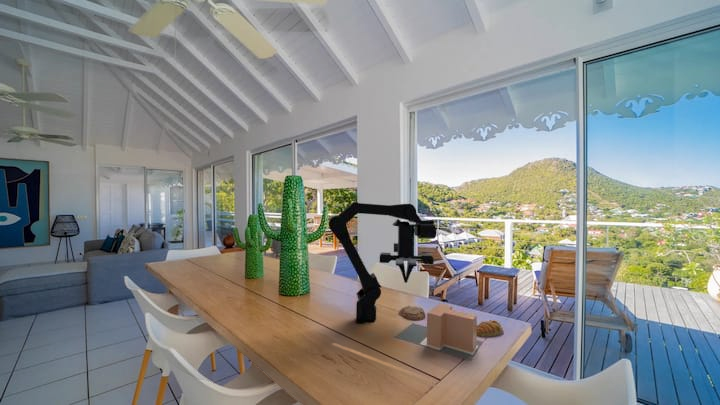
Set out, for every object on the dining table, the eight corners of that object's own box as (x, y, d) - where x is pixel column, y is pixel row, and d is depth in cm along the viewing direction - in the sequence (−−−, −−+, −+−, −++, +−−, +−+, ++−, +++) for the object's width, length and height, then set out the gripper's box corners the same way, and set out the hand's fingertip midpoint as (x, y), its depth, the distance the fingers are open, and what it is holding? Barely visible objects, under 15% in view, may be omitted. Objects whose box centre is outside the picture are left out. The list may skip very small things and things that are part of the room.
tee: (426, 344, 83) (427, 312, 84) (439, 332, 92) (439, 303, 92) (469, 357, 76) (470, 323, 77) (479, 343, 85) (479, 312, 85)
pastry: (484, 342, 87) (484, 329, 87) (467, 333, 93) (467, 321, 93) (505, 336, 91) (505, 323, 91) (487, 328, 97) (487, 316, 97)
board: (394, 338, 88) (394, 336, 88) (412, 324, 98) (412, 323, 98) (471, 363, 75) (471, 360, 75) (482, 343, 85) (483, 341, 85)
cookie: (408, 324, 99) (408, 315, 99) (394, 313, 109) (394, 305, 109) (433, 320, 103) (433, 312, 103) (416, 310, 113) (416, 302, 113)
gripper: (429, 236, 111) (429, 277, 111) (380, 235, 113) (380, 276, 113) (434, 240, 100) (433, 285, 100) (379, 239, 102) (379, 283, 102)
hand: (405, 282), depth 104 cm, fingers closed
